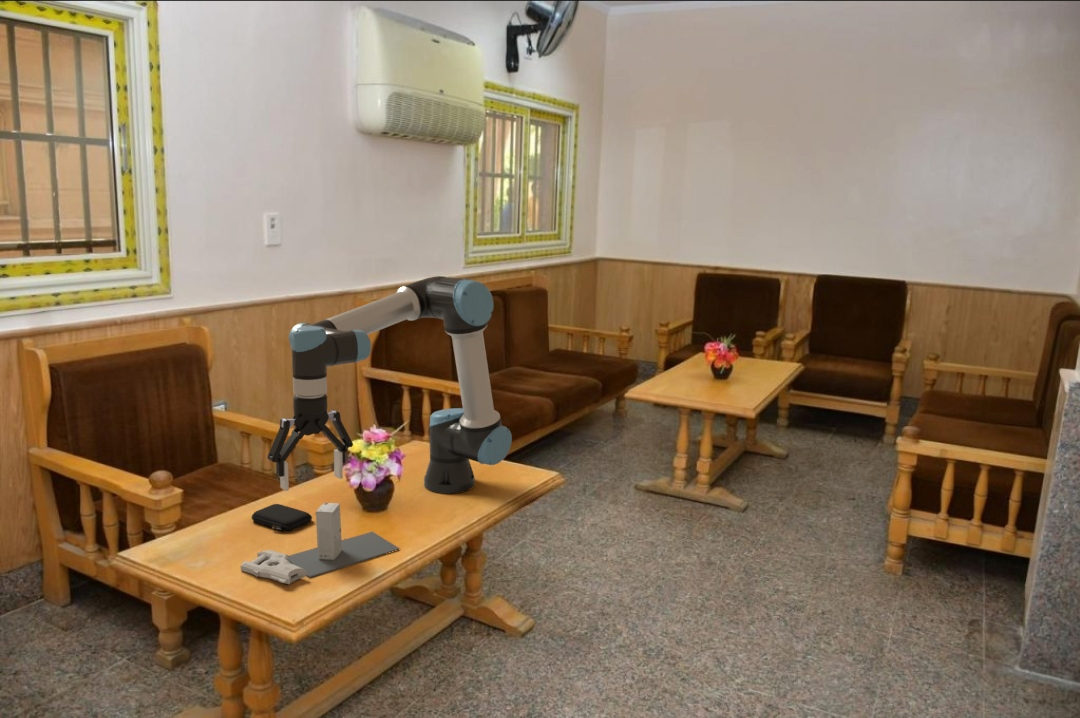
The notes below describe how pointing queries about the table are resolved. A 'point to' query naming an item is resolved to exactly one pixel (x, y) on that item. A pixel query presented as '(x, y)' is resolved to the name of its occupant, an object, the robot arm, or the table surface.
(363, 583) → the table surface
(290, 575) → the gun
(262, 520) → the carrying case or bag
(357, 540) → the mat
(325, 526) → the skincare box
